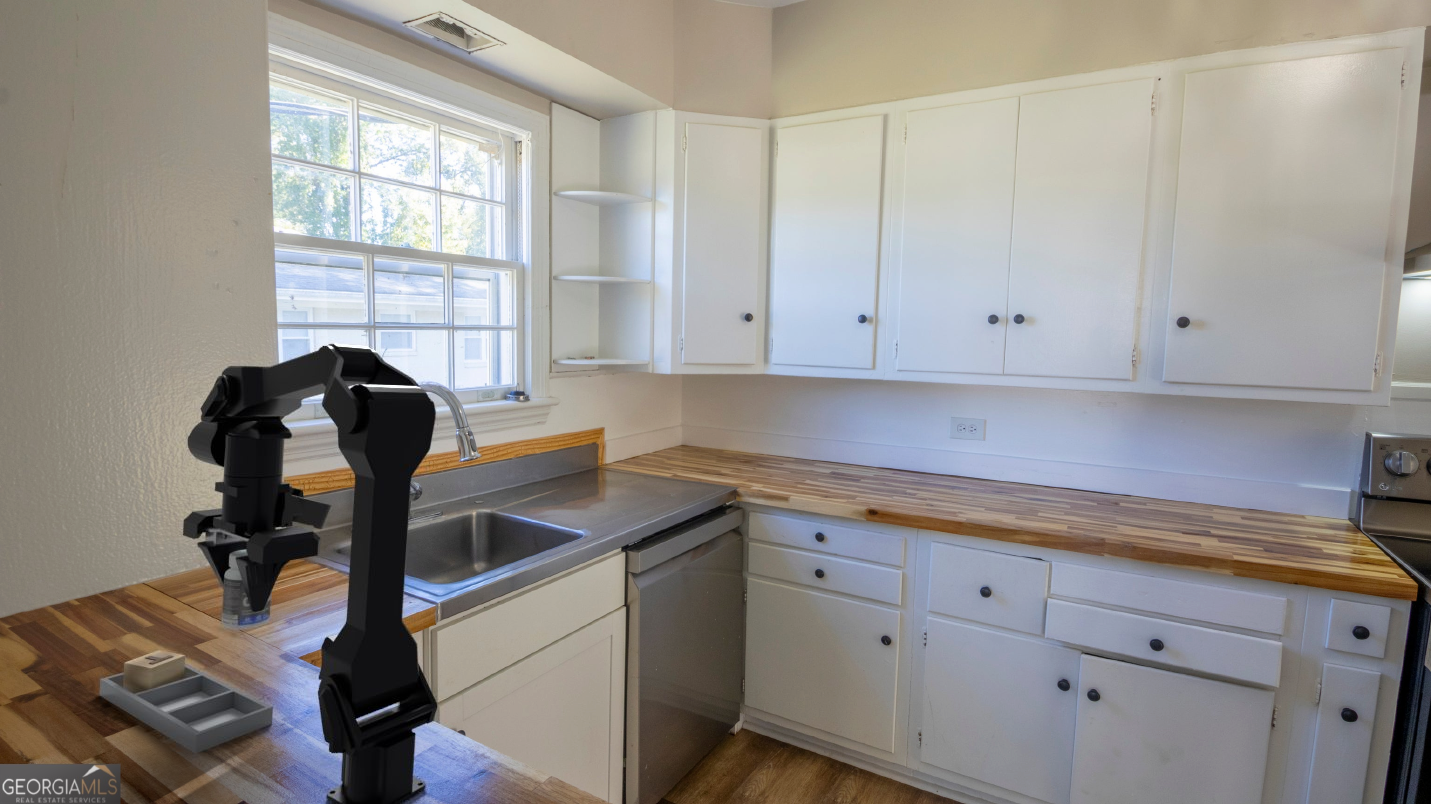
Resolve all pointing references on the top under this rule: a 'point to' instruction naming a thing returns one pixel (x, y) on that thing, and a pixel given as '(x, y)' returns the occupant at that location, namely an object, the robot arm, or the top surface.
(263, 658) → the top surface
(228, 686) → the bay dish
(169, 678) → the letter cube
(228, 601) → the pill bottle
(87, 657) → the top surface
